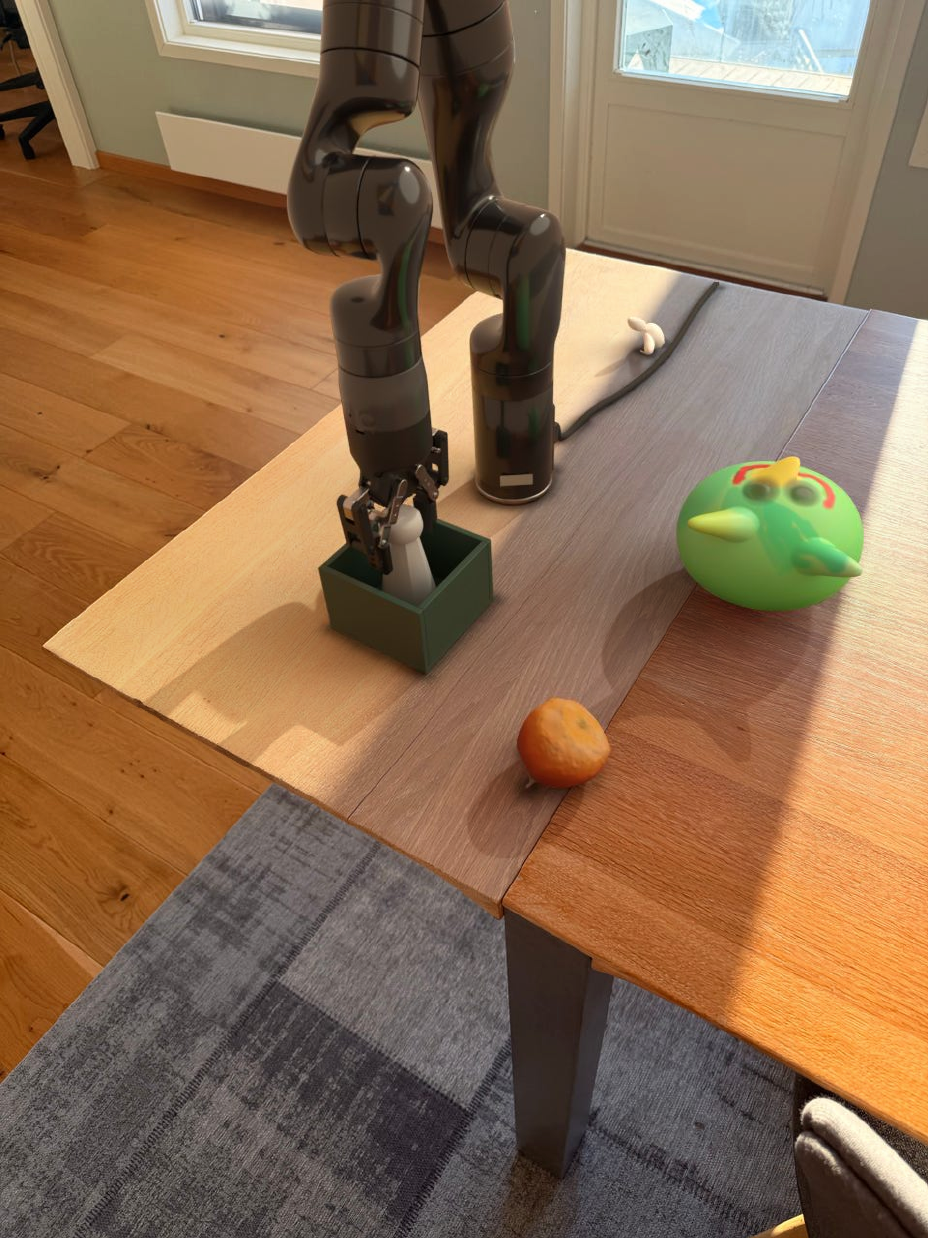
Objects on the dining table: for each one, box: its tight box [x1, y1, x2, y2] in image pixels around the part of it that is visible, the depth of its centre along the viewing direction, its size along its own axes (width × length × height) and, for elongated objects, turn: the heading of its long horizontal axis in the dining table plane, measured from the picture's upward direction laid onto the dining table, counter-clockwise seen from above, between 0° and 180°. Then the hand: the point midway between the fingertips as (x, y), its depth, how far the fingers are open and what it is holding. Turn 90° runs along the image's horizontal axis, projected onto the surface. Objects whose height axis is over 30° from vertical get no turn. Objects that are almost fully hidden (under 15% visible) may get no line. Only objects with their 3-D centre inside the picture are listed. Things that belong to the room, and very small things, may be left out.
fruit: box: [516, 697, 612, 790], centre depth 79 cm, size 8×8×8 cm
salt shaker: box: [378, 503, 436, 607], centre depth 91 cm, size 6×6×13 cm
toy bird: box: [675, 455, 865, 612], centre depth 91 cm, size 18×17×15 cm
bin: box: [317, 507, 494, 675], centre depth 93 cm, size 12×12×9 cm
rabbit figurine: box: [626, 316, 666, 356], centre depth 130 cm, size 6×4×8 cm
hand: (404, 549), depth 90 cm, fingers open, 6 cm apart
